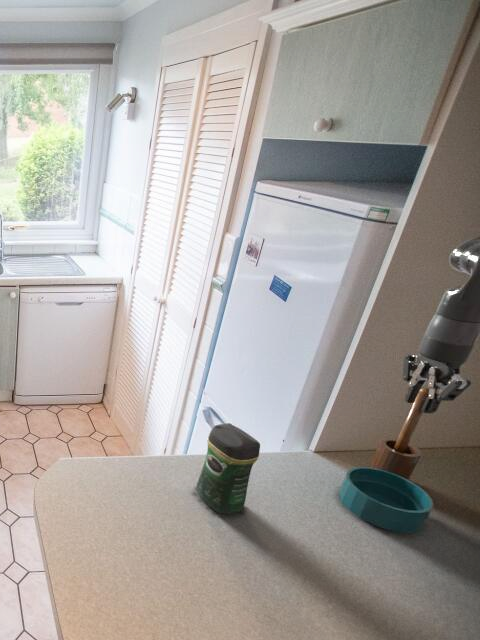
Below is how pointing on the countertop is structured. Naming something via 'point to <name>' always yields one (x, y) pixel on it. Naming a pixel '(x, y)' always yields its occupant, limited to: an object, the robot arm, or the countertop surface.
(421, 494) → the bowl
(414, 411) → the stick
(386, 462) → the utensil pot
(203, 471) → the coffee jar
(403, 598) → the countertop surface
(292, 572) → the countertop surface
